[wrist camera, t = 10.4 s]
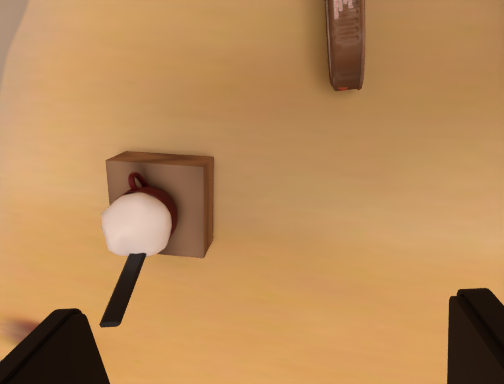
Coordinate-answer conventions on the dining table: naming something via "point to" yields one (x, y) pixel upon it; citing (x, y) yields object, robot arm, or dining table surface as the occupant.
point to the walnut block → (173, 194)
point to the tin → (346, 43)
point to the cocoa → (135, 237)
